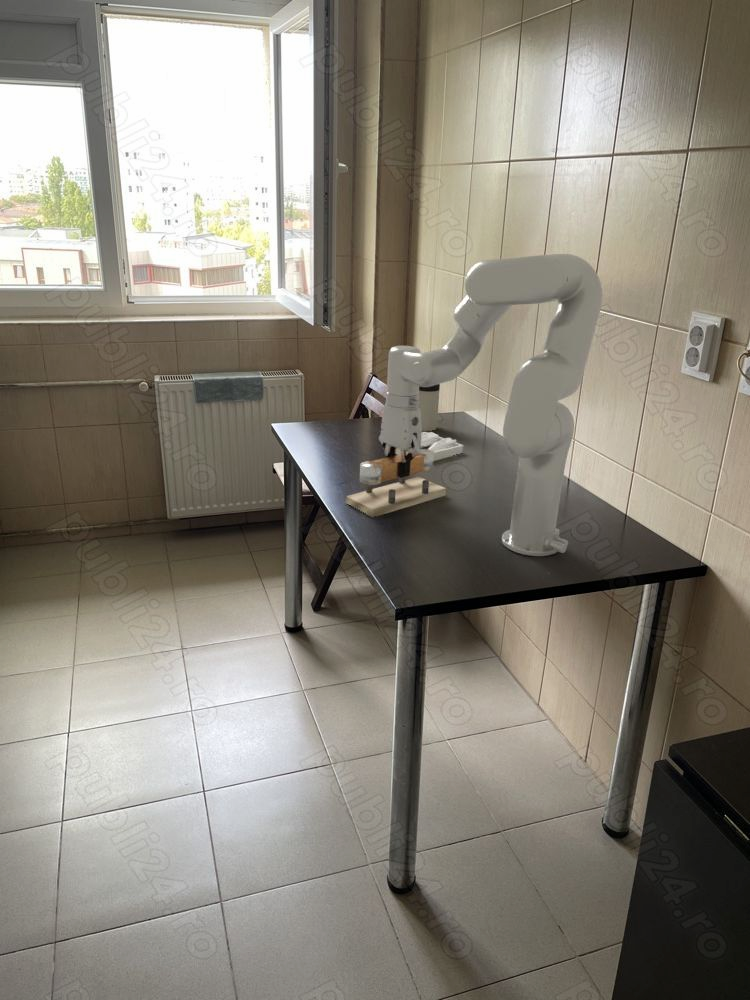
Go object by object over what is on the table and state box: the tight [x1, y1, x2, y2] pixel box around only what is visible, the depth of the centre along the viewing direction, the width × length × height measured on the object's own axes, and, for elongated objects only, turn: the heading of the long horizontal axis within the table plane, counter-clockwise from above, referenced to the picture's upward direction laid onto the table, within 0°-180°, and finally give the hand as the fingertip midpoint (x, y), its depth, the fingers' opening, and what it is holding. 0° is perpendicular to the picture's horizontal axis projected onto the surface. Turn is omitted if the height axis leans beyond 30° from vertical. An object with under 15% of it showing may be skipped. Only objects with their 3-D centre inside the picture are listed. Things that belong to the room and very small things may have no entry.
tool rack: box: [345, 476, 447, 518], centre depth 179 cm, size 10×24×5 cm, turn 130°
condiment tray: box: [382, 431, 465, 462], centre depth 216 cm, size 16×17×2 cm
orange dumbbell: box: [359, 448, 434, 486], centre depth 177 cm, size 5×22×4 cm, turn 130°
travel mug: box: [418, 383, 441, 432], centre depth 235 cm, size 8×8×18 cm
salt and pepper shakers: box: [420, 431, 457, 452], centre depth 218 cm, size 12×4×11 cm
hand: (397, 472), depth 178 cm, fingers closed on orange dumbbell, 4 cm apart
